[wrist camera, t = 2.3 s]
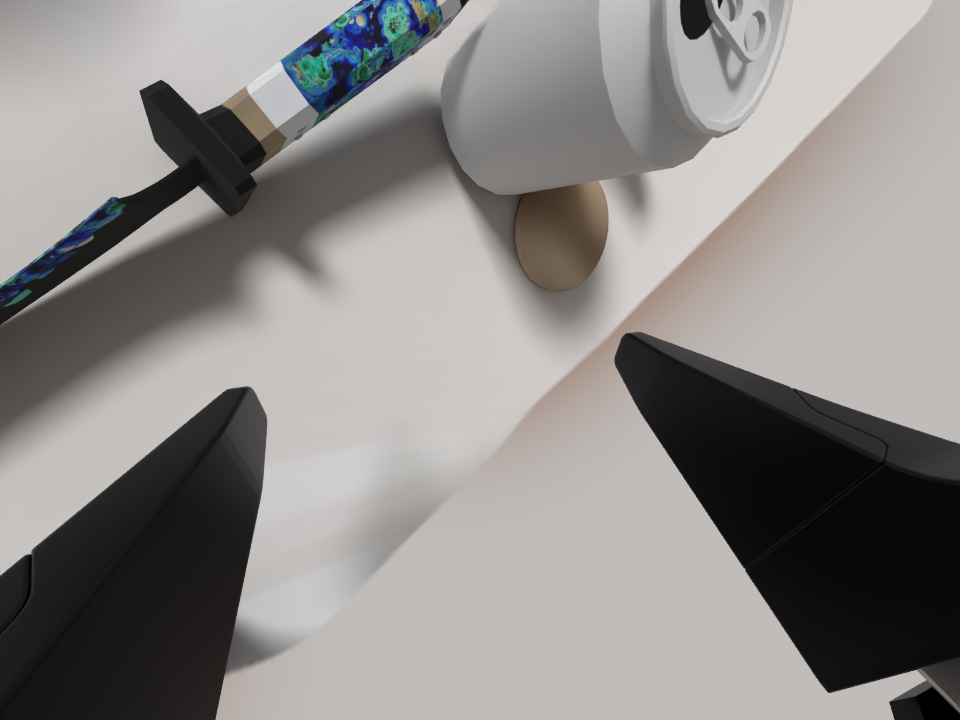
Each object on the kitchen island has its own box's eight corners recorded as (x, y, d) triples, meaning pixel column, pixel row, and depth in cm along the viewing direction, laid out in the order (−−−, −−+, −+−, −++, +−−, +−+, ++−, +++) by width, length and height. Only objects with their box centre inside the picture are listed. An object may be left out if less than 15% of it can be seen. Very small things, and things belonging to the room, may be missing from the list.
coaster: (585, 297, 26) (590, 298, 26) (502, 278, 22) (506, 279, 21) (615, 187, 24) (621, 186, 24) (531, 142, 20) (537, 140, 20)
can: (466, -9, 16) (776, -382, 6) (565, 101, 20) (836, -21, 11) (411, 146, 17) (614, 22, 7) (517, 220, 21) (733, 206, 11)
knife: (434, -17, 14) (478, -102, 10) (469, 67, 16) (518, 20, 12) (-375, 452, 10) (-773, 588, 6) (-218, 501, 12) (-465, 633, 8)
